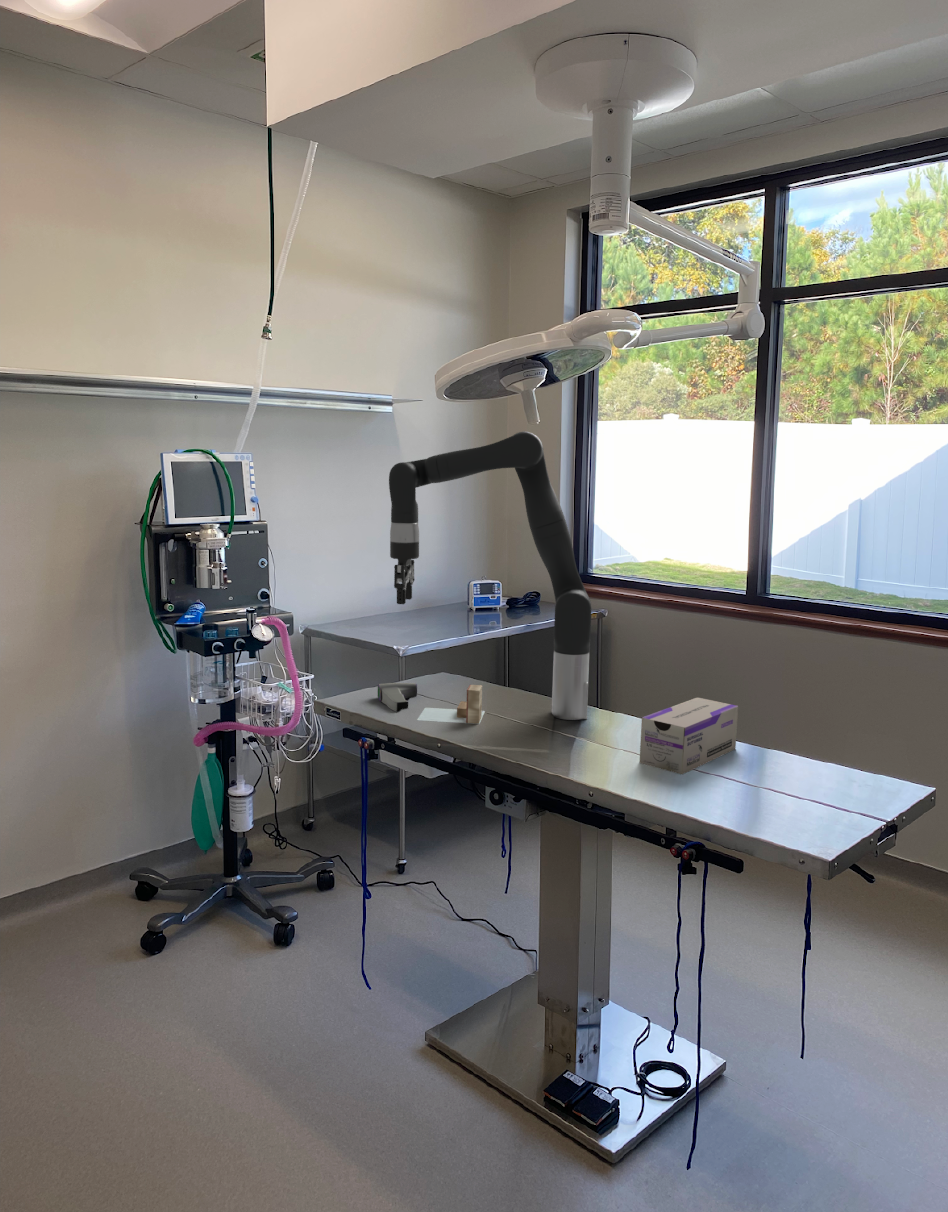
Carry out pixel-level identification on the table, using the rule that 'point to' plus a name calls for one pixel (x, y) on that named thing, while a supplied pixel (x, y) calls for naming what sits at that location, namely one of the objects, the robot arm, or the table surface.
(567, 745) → the table surface
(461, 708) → the rail
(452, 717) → the silicone mat
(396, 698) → the infrared thermometer
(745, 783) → the table surface
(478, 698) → the wooden block
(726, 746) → the surgical sutures box
